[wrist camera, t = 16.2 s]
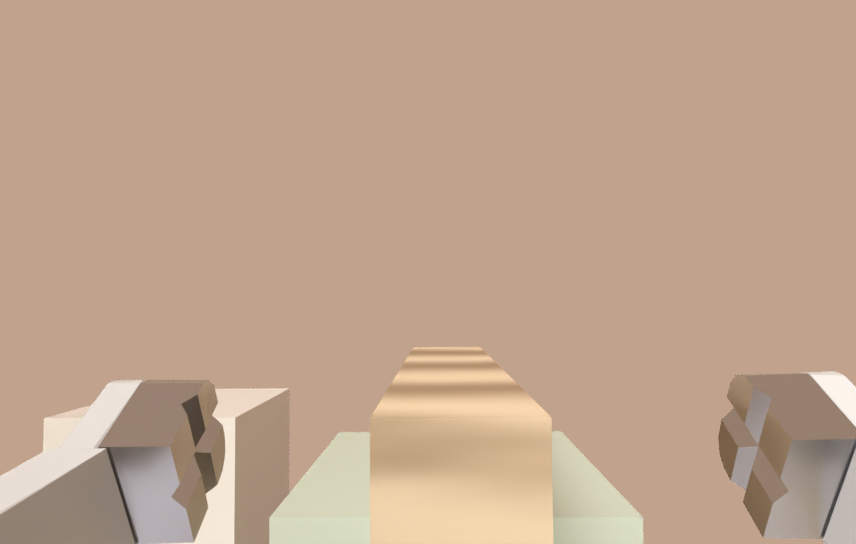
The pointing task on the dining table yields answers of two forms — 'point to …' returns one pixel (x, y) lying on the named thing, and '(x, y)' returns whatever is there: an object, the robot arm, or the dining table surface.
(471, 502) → the beech block
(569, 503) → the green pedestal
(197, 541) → the white pedestal
